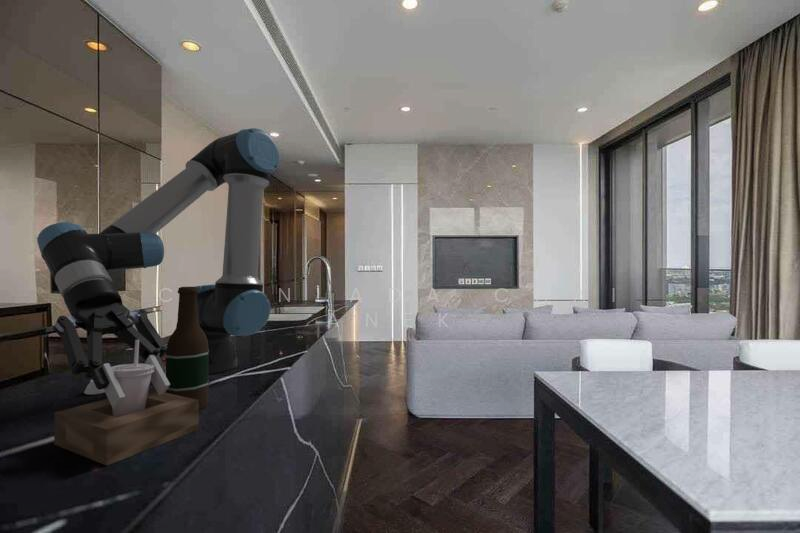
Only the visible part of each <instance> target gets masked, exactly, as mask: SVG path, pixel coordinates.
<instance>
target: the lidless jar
mask: <svg viewBox="0 0 800 533" xmlns="http://www.w3.org/2000/svg"><path fill="white" fill-rule="evenodd" d="M83 393H84V394H85V395H88V396H95V395H101V394H103V395H104V394H106V393H105V391H104V389H101V390H99V389H97V388H96V386H95V384H94V382H93V379H91V380H90V381H89V383H88V384H87V386H86V388H85V390H84V392H83Z"/></svg>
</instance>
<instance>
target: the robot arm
mask: <svg viewBox="0 0 800 533" xmlns="http://www.w3.org/2000/svg"><path fill="white" fill-rule="evenodd" d="M280 155H281V154H280V150H279V148H278V145H277V143H276V142H275V141H274V139H273V137H272V136H270V135H269V133H267V132H266V131H264V130H262V129H260V128H256V127H253V128H252V127H251V128H247V129H246V128H243V129H240V130H239V131H237V132H234V133H231V134H229V135H226V136H222V137H219V138H216V139H215V140H213V141H212V142H210V143H209V144H208V145H206V146H205V147H204V148H203V149H201V150H200V151H199V152H198V153H196V154H195V155H194V156H193V157H192V158H191V159H189V160H188V161H187V162H186V163H185V168H184V169H183V170H182V171H180V172H179V173H178V174H176V175H175V176H173V177H172V178H171V179H170V180H168V181H167V182H166V183H164V184H163V185H162V186H159V188H158V189H156V190H155V191H154V192H152V193H151V194H150V195H148V196H147V197H145V198H144V199H143V200H142V201H140V202H139V203H138V204H136V205H135V206H134V207H132V208H130V210H128V211H127V212H126V213H124V214H123V215H122V216H120V217H119V218H118V219H116V220H115V221H114V222H112V223H111V224H110V225H109V226H107V227H106V228H104V229H103V230H102V231H100V232H99V233H88V232H87V231H86V230H85V229H84V228H83V227H82V226H81V225H80V224H75V223H72V222H68V221H63V222H56V223H53V224H50V225H48V226H46V227H44V228H43V229H42V230H41V231H39V232H40V233H39V234H38V236H37V238H36V239H37V240H36V241H37V245H38V250H39V252H40V255H41V258H42V260H43V261H44V262H45V264H46V266H47V269H48V270H49V272H50V274H51V276H52V278H53V280H54V282H55V285H56V287H57V289H58V291H59V293H60V295H61V297H62V299H63V301H64V303H65V305H66V308H67V309H68V312H69V315H70V316H66V315H59V316H58V318H57V320H56V322H55V323H54V325H53V327H52V329H53V331H54V332H55V333H56V334H57V335H58V336H59V337H60V339H61V343H62V347H63V349H64V351H65V355H66V358H67V362H68V365H69V367H70V371H71V373H72V374H74V375H80V374H81V373H84V376H85V377H86V378H89V379H91V380H93V382H94V384H95V386H96V388H97V389H99V390H101V389H104V391H105V393H104V394H105V395H106V398H107V399H109V401H110V404H111V406H112V408H113V409H114V408H117V407H119V405H120V404H121V402H122V401H123V399H124V398H125V395H124V393H123V391H122V389H121V387H120V384H119V382H118V380H117V378H116V376H115V374H114V372H113V370H112V368H111V367H112V366H111V364H110V363H109V362H108V363H107V362H106V363H103V336H104V335H114V336H115V337H116V338H117V339H121V340H122V341H124V342H125V343H126V344H127V345H128V346H129V348H130V347H131V349H132V350H133V351H135V340H139V353H138V356H140V357H141V358H143V359H144V360H145V363H148V364H153V365H154V372H153V373H152V374H151V381H152V383H153V385H154V387H155V389H156V391H157V393H158V395H163V394H164V393H165V391H166V390H167V389H168V387H169V386H170V383H169V381H168V379H167V377H166V375H165V374H164V371H165V370H166V368H165V366H164V364H163V362H162V360H161V358H160V357H161V356H162V355H163V353H164V352H165V350H166V349H167V346H166V344H167V343H165V340H164V339H163V338H162V337H161V335H160V334H159V333H158V331H157V330H156V328H155V326H154V325H153V323H152V322H151V320H150V319H149V317H148V312H147V310H146V309H145V308H140V309H139V311H132V310H131V311H130V309H129V308H127V307H126V306H124V304H123V301H122V296H121V294H120V293H119V291H118V289H117V287H116V285H115V284H114V283H113V279H112V278H111V276H110V274H109V272H108V271H121V270H123V271H124V270H131V269H133V270H134V269H147V268H152V267H157V266H160V265H161V263H162V262H163V260H164V257H165V248H164V247H165V246H164V243H163V240H162V238H161V237H160V235H158V234H157V233H158V232H160V230H162V229H163V228H164V227H166V226H167V225H168V224H169V223H171V222H172V220H174V219H175V218H177V217H178V216H179V215H180V214H181V213H182V212H184V211H185V210H186V209H187V208H188V207H190V206H191V205H192V204H193V203H195V202H196V201H197V200H198V199H199V198H200V197H202V195H204V194H205V193H206V192H213V191H215V190H216V189H217V188H218V187H220V186H221V185H223V184H225V183H226V184H227V185H228V195H227V206H226V207H227V208H226V217H225V218H226V220H225V236H224V249H223V263H222V275H221V276H220V277H219V278H218V279H217V280H216V281H215V282H214V283H215V284H203V285H196V286H195V285H194V287H197V289H198V293H197V307H198V320H199V325H200V327H201V329H202V330H203V331H204V333H205V335H206V337H207V340H208V349H209V350H208V375H211V374H217V373H218V374H219V373H223V372H227V371H230V370H233V369H235V368H237V366H238V357H237V355H236V351H235V348H234V345H233V342H232V340H231V339H232V338H231V336H233V337H240V336H245V337H246V336H252V335H254V334H256V333H258V332H260V331H261V329H262V328H263V327H265V325H266V324H267V322H268V320H269V319H270V316H271V309H272V307H271V302H270V300H269V298H268V295H266V294H265V293H264V292H263V288H264V283H263V282H262V281H261V280H260V279H259V277H258V275H259V259H260V245H261V228H262V227H261V225H262V216H263V214H262V213H263V212H262V210H263V200H264V199H263V197H264V194H263V193H264V190H265V189H266V188H268V187H269V185H270V182H271V181H270V179H271V173H272V172H274V171H275V170H276V169H278V167H279V164H280V161H281V156H280ZM134 326H135V327H134ZM76 327H79V328H81V329H82V330H84V331H86V342H87V345H86V346H87V347H86V348H87V351H86V352H87V353H85V351H84V347H83V345H82V341H81V339H80V336H79V333H78V330H77V328H76ZM86 354H87V355H86ZM102 363H103V364H102Z"/></svg>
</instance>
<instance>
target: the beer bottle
mask: <svg viewBox="0 0 800 533" xmlns="http://www.w3.org/2000/svg"><path fill="white" fill-rule="evenodd" d="M176 293H178V309H177V321H176V326H175V329H174V331H173V332H172V334H171V335H170V337H169V339H168V342H167V343H166V344H167V349H166V377H167V379H168V381H169V383H170V386H169V387H168V389H167V390H166V393H169V394H174V395H178V396H183V397H188V398H192V399H197V400H199V411H201V410H203V409H207V406H208V402H209V374H208V350H209V349H208V340H207V337H206V335H205V333H204V331H203V330H202V329H201V327H200V325H199V320H198V307H197V293H198V289H197V287H195V286H181V287H178V290H177V292H176Z"/></svg>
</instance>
